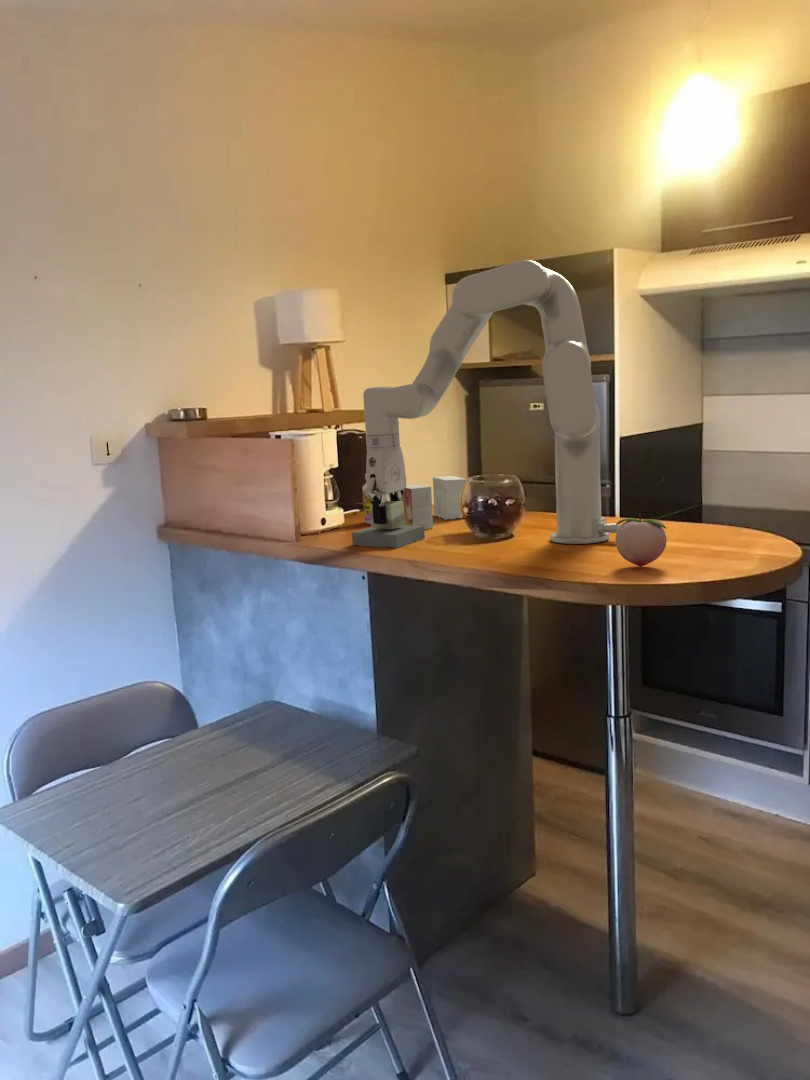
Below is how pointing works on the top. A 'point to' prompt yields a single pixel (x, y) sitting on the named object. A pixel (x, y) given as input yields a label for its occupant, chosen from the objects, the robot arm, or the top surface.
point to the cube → (391, 515)
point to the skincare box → (447, 496)
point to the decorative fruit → (640, 540)
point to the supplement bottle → (368, 504)
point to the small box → (418, 505)
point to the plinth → (388, 536)
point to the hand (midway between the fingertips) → (388, 520)
